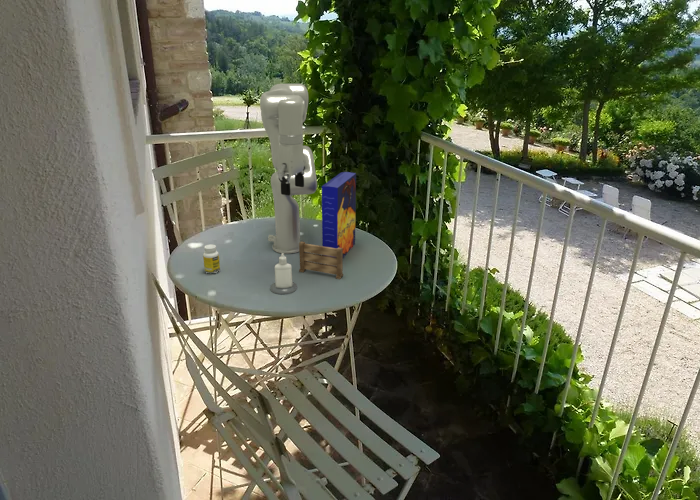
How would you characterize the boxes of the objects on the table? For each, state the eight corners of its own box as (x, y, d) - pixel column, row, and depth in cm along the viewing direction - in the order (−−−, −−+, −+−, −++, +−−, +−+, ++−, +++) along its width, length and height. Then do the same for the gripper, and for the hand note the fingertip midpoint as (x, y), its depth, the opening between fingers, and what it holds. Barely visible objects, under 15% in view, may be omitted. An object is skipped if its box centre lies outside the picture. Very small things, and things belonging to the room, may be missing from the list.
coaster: (265, 291, 167) (265, 289, 166) (278, 280, 174) (278, 278, 174) (289, 296, 164) (289, 294, 163) (301, 284, 171) (301, 283, 171)
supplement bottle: (215, 275, 177) (212, 250, 174) (201, 273, 179) (198, 248, 175) (223, 269, 182) (220, 244, 178) (210, 267, 184) (207, 242, 180)
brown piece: (299, 271, 181) (298, 243, 177) (302, 268, 184) (302, 240, 179) (340, 279, 176) (340, 250, 171) (343, 275, 178) (343, 247, 174)
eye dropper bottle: (288, 290, 166) (286, 257, 161) (273, 287, 168) (271, 254, 163) (294, 285, 170) (293, 252, 165) (279, 282, 172) (278, 250, 167)
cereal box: (337, 265, 187) (337, 187, 175) (322, 262, 188) (321, 185, 177) (355, 244, 206) (356, 172, 194) (341, 242, 208) (341, 171, 196)
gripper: (293, 133, 169) (294, 182, 176) (267, 143, 154) (269, 196, 161) (313, 135, 166) (314, 184, 173) (288, 146, 151) (290, 199, 159)
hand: (292, 190), depth 167 cm, fingers open, 9 cm apart
